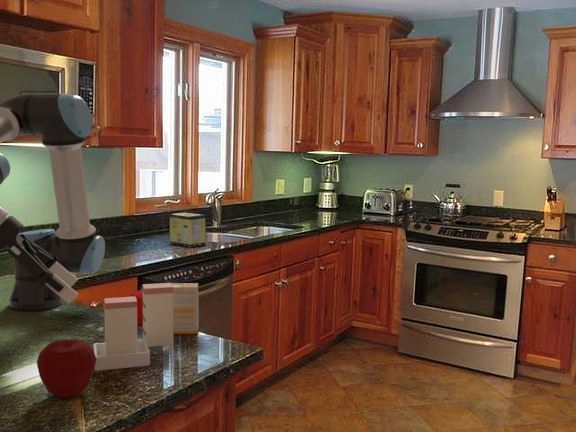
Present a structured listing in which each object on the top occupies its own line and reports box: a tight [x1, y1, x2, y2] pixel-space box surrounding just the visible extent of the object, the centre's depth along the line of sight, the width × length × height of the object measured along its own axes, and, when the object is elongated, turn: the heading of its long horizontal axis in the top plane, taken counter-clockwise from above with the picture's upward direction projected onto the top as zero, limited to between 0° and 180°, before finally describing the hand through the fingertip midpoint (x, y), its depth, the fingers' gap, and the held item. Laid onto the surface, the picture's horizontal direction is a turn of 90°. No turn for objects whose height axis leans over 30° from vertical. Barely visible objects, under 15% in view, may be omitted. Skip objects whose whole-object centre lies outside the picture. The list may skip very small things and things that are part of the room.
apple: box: [36, 338, 96, 399], centre depth 115 cm, size 11×11×12 cm
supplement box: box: [170, 282, 200, 335], centre depth 156 cm, size 8×5×13 cm, turn 92°
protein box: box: [169, 212, 206, 246], centre depth 292 cm, size 10×16×16 cm
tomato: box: [127, 286, 143, 327], centre depth 163 cm, size 11×13×10 cm
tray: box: [93, 338, 151, 372], centre depth 135 cm, size 10×12×3 cm
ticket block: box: [141, 282, 174, 348], centre depth 147 cm, size 5×7×15 cm, turn 110°
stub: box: [103, 296, 138, 356], centre depth 134 cm, size 4×7×14 cm, turn 110°
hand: (73, 291), depth 130 cm, fingers open, 13 cm apart
